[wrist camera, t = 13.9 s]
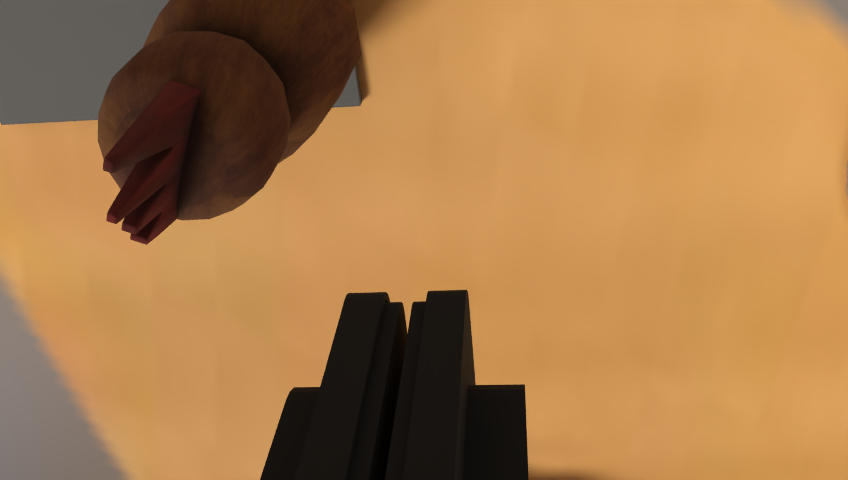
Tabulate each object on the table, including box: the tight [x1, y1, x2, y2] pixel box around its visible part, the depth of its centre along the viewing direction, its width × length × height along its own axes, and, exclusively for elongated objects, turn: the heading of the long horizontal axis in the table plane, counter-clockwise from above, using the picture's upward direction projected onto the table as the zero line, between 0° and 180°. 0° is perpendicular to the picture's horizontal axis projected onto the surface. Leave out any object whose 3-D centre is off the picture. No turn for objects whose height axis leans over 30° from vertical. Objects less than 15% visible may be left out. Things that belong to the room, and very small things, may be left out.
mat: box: [0, 0, 362, 125], centre depth 29 cm, size 15×7×1 cm, turn 96°
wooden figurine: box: [98, 0, 361, 245], centre depth 22 cm, size 7×6×15 cm
